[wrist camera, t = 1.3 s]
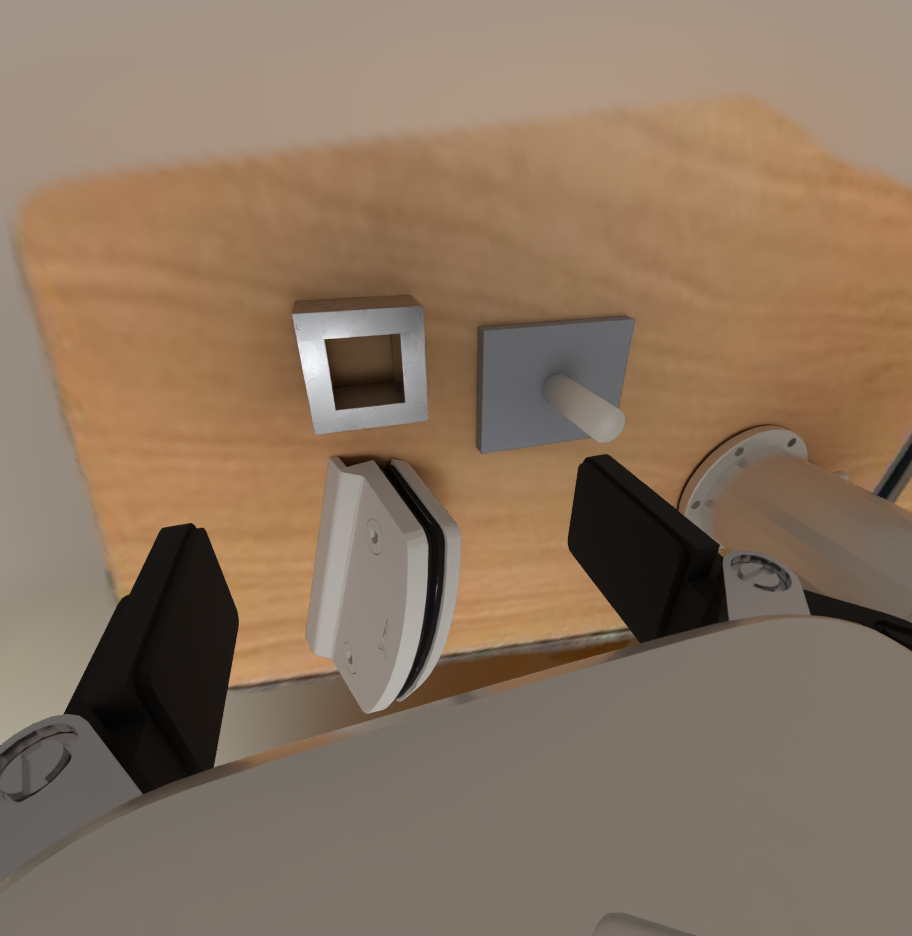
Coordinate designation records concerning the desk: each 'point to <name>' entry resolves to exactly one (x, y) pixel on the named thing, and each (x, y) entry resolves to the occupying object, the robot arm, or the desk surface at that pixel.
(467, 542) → the desk surface
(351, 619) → the grey slotted holder
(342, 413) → the grey square hollow block
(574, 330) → the keeper
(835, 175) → the desk surface
